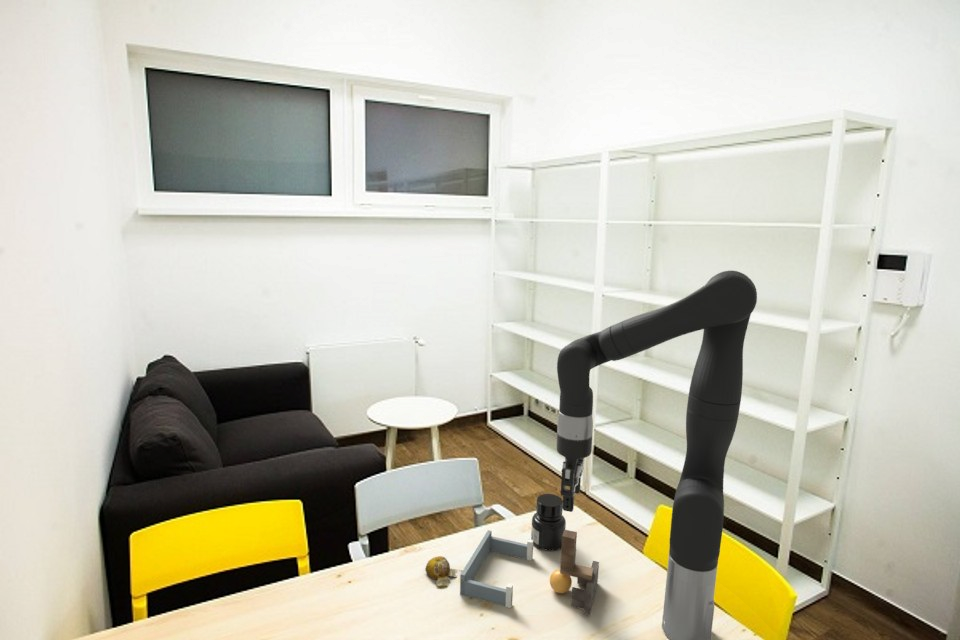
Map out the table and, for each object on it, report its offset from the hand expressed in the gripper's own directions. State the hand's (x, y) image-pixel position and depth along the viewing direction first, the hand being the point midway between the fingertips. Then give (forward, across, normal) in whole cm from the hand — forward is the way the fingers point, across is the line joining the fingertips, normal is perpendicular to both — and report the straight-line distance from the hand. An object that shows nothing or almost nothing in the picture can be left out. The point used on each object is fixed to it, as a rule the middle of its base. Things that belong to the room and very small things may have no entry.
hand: (571, 501), depth 120 cm
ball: (+20, 0, +2) cm, 20 cm away
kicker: (+22, 0, -2) cm, 23 cm away
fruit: (+23, -5, +29) cm, 37 cm away
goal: (+23, 0, +17) cm, 28 cm away
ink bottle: (+23, +18, +9) cm, 31 cm away
